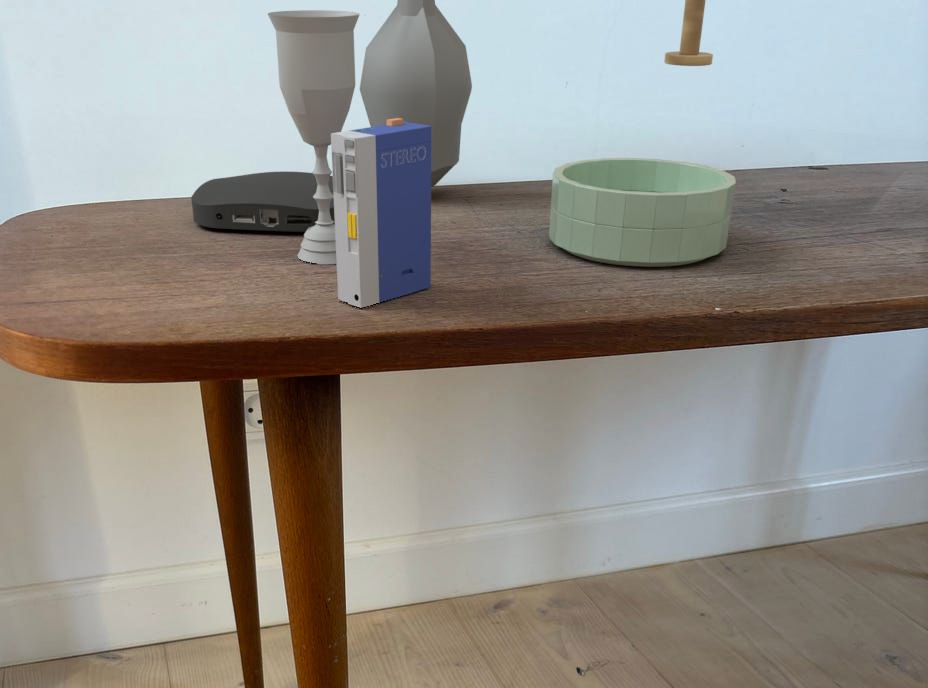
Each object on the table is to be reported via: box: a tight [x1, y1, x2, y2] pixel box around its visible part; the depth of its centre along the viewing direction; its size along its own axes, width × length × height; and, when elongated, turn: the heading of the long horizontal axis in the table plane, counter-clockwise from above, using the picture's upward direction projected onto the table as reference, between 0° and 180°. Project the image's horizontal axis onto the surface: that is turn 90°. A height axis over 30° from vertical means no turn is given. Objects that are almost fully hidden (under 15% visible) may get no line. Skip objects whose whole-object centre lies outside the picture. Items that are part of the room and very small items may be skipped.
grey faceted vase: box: [359, 0, 473, 188], centre depth 102 cm, size 11×11×30 cm
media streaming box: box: [190, 171, 335, 233], centre depth 101 cm, size 15×15×3 cm
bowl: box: [548, 157, 737, 268], centre depth 93 cm, size 16×16×6 cm
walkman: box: [330, 118, 432, 308], centre depth 78 cm, size 8×3×12 cm, turn 138°
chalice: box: [267, 9, 360, 265], centre depth 85 cm, size 7×7×18 cm
